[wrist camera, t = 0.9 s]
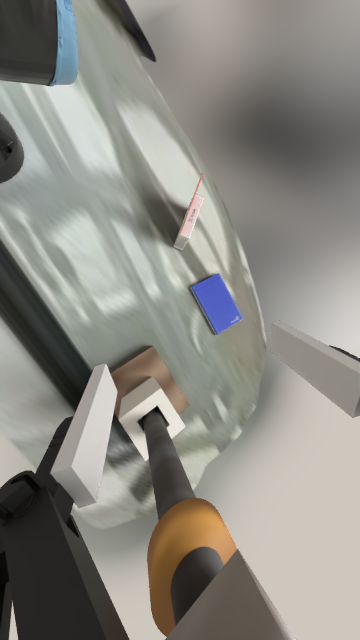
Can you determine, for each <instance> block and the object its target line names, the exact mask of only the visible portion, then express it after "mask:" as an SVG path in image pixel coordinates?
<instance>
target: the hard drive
mask: <svg viewBox="0 0 360 640" xmlns="http://www.w3.org/2000/svg"><path fill="white" fill-rule="evenodd" d="M190 289H191V290H192V292H193V294H194V296H195V298H196V300H197V302H198V304H199V305H200V307H201V309H202V311H203V313H204V315H205V316H206V318H207V320H208V322H209V324H210V326H211V328H212V329H213V331H214V333H215V335H218V334H219V333H221V332H223V331H224V330H226V329H227V328H229V327H230V326H232V325H234V324H235V323H237V322H238V321H240V320H241V319H243V317H242V315H241V313H240V312H239V310H238V308H237V306H236V304H235V302H234V301H233V299H232V297H231V295H230V293H229V291H228V289H227V287H226V286H225V284H224V282H223V280H222V278H221V276H220V274H219V273H218V274H216V275H214V276H212V277H210V278H208V279H206V280H204V281H202V282H200V283H198V284H196V285H194V286H192V287H191V288H190Z"/></svg>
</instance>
